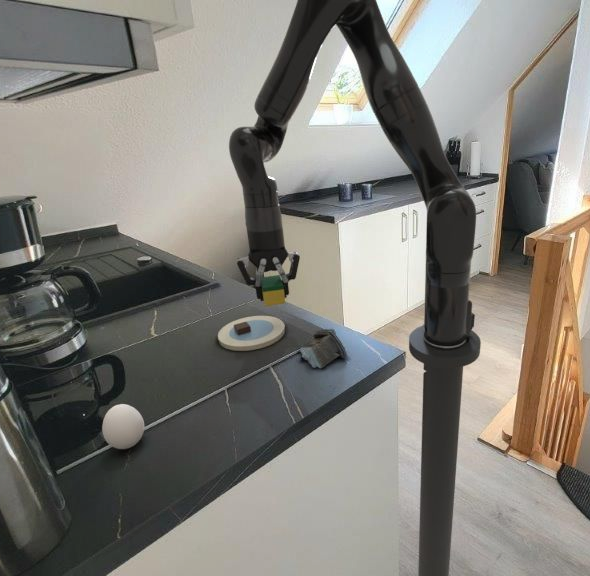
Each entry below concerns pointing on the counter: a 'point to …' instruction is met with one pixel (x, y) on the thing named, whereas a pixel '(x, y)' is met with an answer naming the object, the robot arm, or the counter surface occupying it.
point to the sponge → (273, 290)
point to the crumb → (242, 328)
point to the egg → (122, 426)
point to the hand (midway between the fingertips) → (273, 297)
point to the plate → (252, 333)
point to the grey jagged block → (323, 348)
